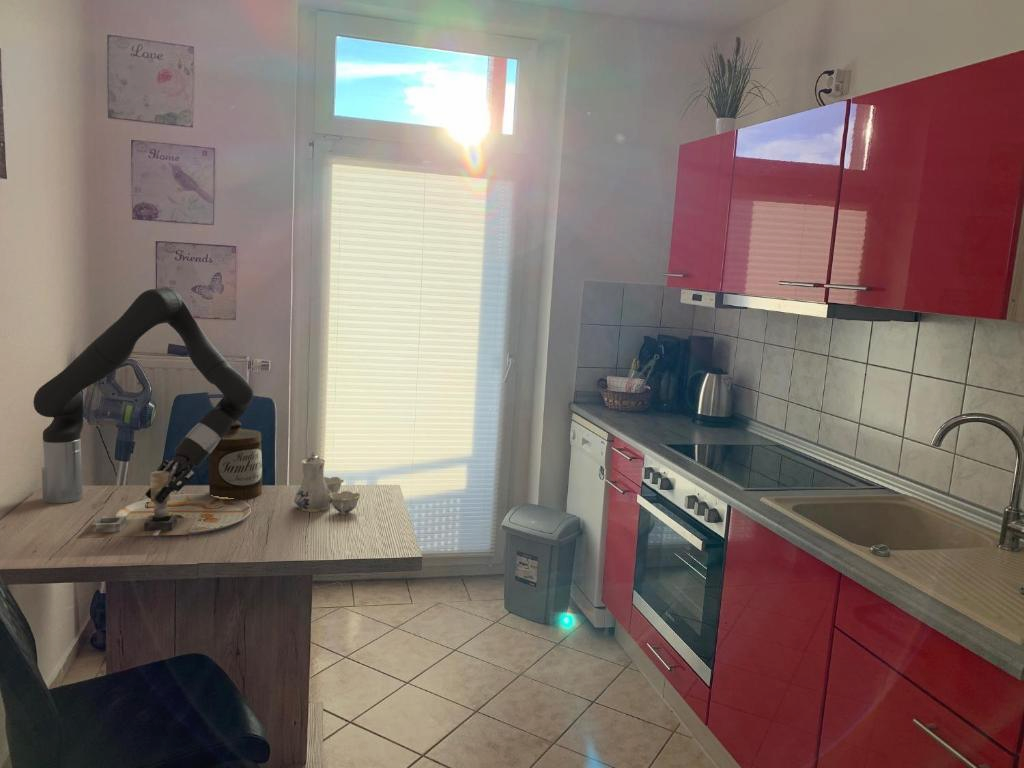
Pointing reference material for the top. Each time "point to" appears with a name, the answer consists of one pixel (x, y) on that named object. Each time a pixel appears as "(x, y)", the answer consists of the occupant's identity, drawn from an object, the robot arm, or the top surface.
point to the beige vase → (157, 483)
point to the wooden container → (236, 464)
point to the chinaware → (322, 490)
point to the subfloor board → (138, 526)
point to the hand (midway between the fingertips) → (153, 499)
